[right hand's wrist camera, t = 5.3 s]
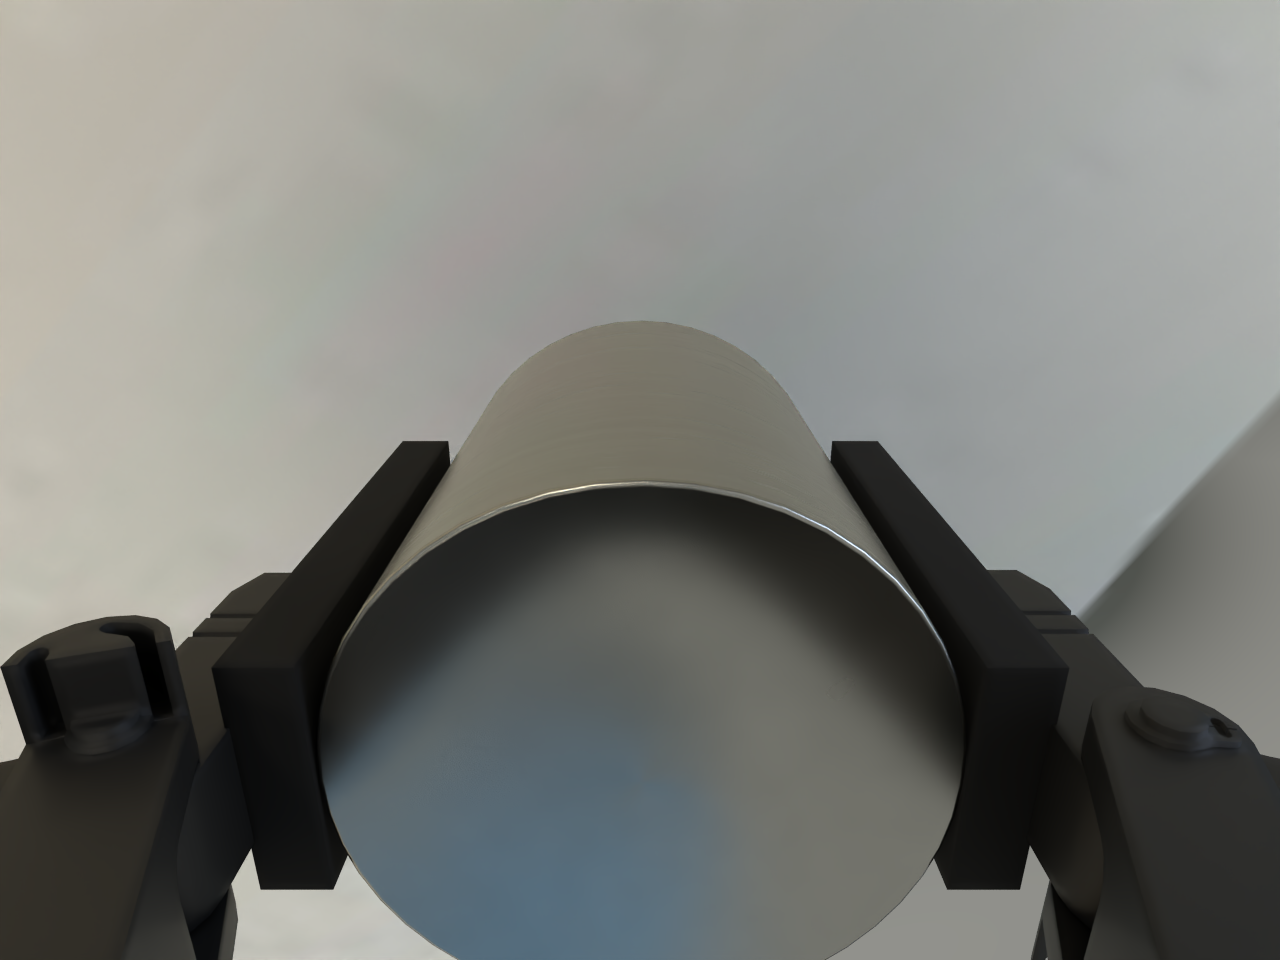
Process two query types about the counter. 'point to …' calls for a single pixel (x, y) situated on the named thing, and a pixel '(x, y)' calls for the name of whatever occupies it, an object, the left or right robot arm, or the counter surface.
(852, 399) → the counter surface
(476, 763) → the tin
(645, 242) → the counter surface
